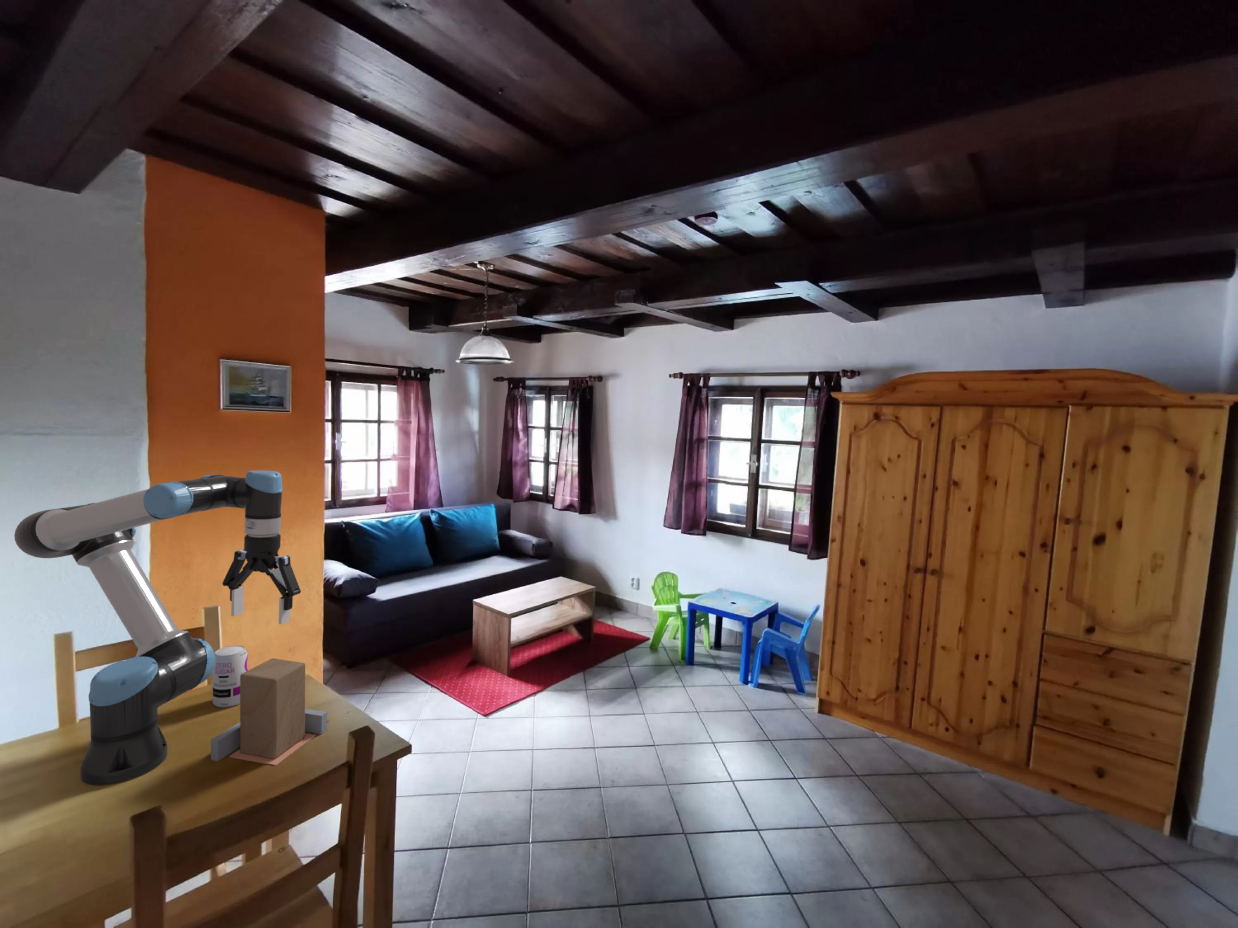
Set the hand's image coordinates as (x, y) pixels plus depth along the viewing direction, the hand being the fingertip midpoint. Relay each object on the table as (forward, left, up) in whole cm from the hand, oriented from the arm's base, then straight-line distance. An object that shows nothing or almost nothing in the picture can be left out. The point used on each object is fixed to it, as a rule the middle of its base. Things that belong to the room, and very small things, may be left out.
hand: (260, 618), depth 138 cm
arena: (+3, 0, -32) cm, 32 cm away
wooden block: (+4, 0, -32) cm, 32 cm away
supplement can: (-24, +15, -32) cm, 43 cm away
